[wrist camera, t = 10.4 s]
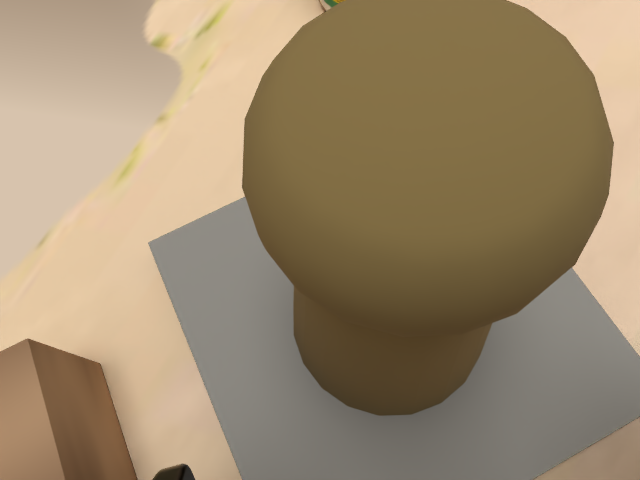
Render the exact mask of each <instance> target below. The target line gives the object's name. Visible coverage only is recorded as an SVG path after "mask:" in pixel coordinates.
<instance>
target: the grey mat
mask: <svg viewBox="0 0 640 480" xmlns="http://www.w3.org/2000/svg"><path fill="white" fill-rule="evenodd" d="M148 244H149V246H150V249H151V251H152V254H153V256H154V259H155V261H156V264H157V267H158V269H159V272H160V274H161V277H162V279H163V282H164V284H165V287H166V289H167V292H168V294H169V297H170V299H171V302H172V304H173V307H174V309H175V312H176V314H177V317H178V319H179V322H180V324H181V327H182V329H183V332H184V334H185V337H186V339H187V342H188V344H189V347H190V349H191V352H192V354H193V357H194V359H195V362H196V364H197V367H198V369H199V372H200V375H201V377H202V380H203V382H204V385H205V387H206V390H207V392H208V395H209V397H210V400H211V402H212V405H213V407H214V410H215V412H216V415H217V417H218V420H219V422H220V425H221V427H222V430H223V432H224V435H225V437H226V440H227V442H228V445H229V447H230V450H231V452H232V455H233V457H234V460H235V462H236V465H237V467H238V470H239V472H240V475H241V477H242V480H533V479H534V478H536V477H538V476H539V475H541V474H543V473H544V472H546V471H548V470H550V469H551V468H553V467H555V466H556V465H558V464H560V463H562V462H563V461H565V460H567V459H568V458H570V457H572V456H573V455H575V454H577V453H579V452H580V451H582V450H584V449H585V448H587V447H589V446H591V445H592V444H594V443H596V442H597V441H599V440H601V439H602V438H604V437H606V436H608V435H609V434H611V433H613V432H614V431H616V430H618V429H619V428H621V427H623V426H625V425H626V424H628V423H630V422H631V421H633V420H635V419H637V418H638V417H640V357H639V355H638V354H637V353H636V351H635V350H634V349H633V347H632V346H631V345H630V344H629V342H628V341H627V340H626V338H625V337H624V336H623V334H622V333H621V332H620V330H619V329H618V328H617V326H616V325H615V324H614V323H613V321H612V320H611V319H610V317H609V316H608V315H607V313H606V312H605V311H604V309H603V308H602V307H601V305H600V304H599V303H598V302H597V300H596V299H595V298H594V296H593V295H592V294H591V292H590V291H589V290H588V288H587V287H586V286H585V284H584V283H583V282H582V281H581V279H580V278H579V277H578V275H577V274H576V273H575V271H574V270H573V269H572V268H570V269H569V270H568V271H567V272H566V273H565V274H563V275H562V276H561V277H560V278H559V279H557V280H556V281H555V282H554V283H553V284H552V285H550V286H549V287H548V288H547V289H546V290H544V291H543V292H542V293H541V294H540V295H539V296H537V297H536V298H535V299H534V300H533V301H531V302H530V303H529V304H528V305H527V306H525V307H524V308H523V309H522V310H521V311H519V312H518V313H517V314H515V315H512V316H510V317H507V318H504V319H502V320H499V321H496V322H494V323H492V325H491V328H490V331H489V333H488V336H487V339H486V341H485V344H484V347H483V349H482V352H481V355H480V357H479V359H478V360H477V362H476V364H475V366H474V367H473V369H472V371H471V373H470V374H469V376H468V378H467V380H466V382H465V383H464V384H463V385H462V386H460V387H459V388H458V389H457V390H456V391H455V392H453V393H452V394H451V395H450V396H449V397H448V398H447V399H445V400H444V401H443V402H442V403H440V404H438V405H435V406H432V407H430V408H427V409H425V410H422V411H419V412H417V413H414V414H412V415H386V416H378V415H375V414H371V413H368V412H365V411H362V410H358V409H355V408H352V407H348V406H347V405H345V404H344V403H342V402H341V401H340V400H338V399H337V398H335V397H334V396H332V395H331V394H330V393H328V392H327V391H325V390H324V389H322V388H321V386H320V385H319V384H318V382H317V381H316V380H315V378H314V377H313V376H312V374H311V373H310V372H309V370H308V369H307V368H306V366H305V365H304V364H303V361H302V358H301V355H300V352H299V349H298V346H297V343H296V340H295V337H294V322H293V300H294V285H293V284H292V283H291V281H290V280H289V279H288V278H287V276H286V275H285V274H284V273H283V271H282V270H281V269H280V268H279V266H278V265H277V264H276V262H275V261H274V260H273V259H272V257H271V256H270V255H269V254H268V252H267V251H266V249H265V248H264V246H263V244H262V242H261V240H260V238H259V236H258V233H257V230H256V227H255V224H254V221H253V218H252V215H251V212H250V209H249V206H248V203H247V200H246V197H243V198H241V199H239V200H237V201H235V202H233V203H231V204H229V205H226V206H224V207H222V208H220V209H218V210H216V211H214V212H212V213H210V214H208V215H205V216H203V217H201V218H199V219H197V220H195V221H193V222H191V223H189V224H186V225H184V226H182V227H180V228H178V229H176V230H174V231H172V232H170V233H167V234H165V235H163V236H161V237H159V238H157V239H155V240H153V241H151V242H149V243H148Z"/></svg>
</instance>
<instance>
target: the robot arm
mask: <svg viewBox="0 0 640 480" xmlns="http://www.w3.org/2000/svg"><path fill="white" fill-rule="evenodd" d="M152 480H195V478H194V476H193V473H192V471H191V469H190V468H189V466H188V465H186V464H180V465H176V466H172V467H168V468H165V469H162V470H160V471H159V472H158V473H157V474H156V475H155V477H154V478H153V479H152Z"/></svg>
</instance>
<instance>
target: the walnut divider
mask: <svg viewBox="0 0 640 480" xmlns="http://www.w3.org/2000/svg"><path fill="white" fill-rule="evenodd" d="M0 480H137V478H136V475H135V471H134V468H133V465H132V462H131V459H130V456H129V453H128V450H127V446H126V443H125V440H124V437H123V434H122V431H121V428H120V425H119V421H118V418H117V415H116V412H115V409H114V406H113V403H112V400H111V396H110V393H109V390H108V387H107V384H106V381H105V378H104V375H103V372H102V368H101V365H100V363H97V362H94V361H91V360H88V359H85V358H82V357H80V356H77V355H74V354H71V353H68V352H65V351H62V350H59V349H56V348H54V347H51V346H48V345H45V344H42V343H39V342H36V341H33V340H30V339H25V340H23V341H21V342H19V343H17V344H15V345H13V346H11V347H9V348H7V349H5V350H3V351H1V352H0Z"/></svg>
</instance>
